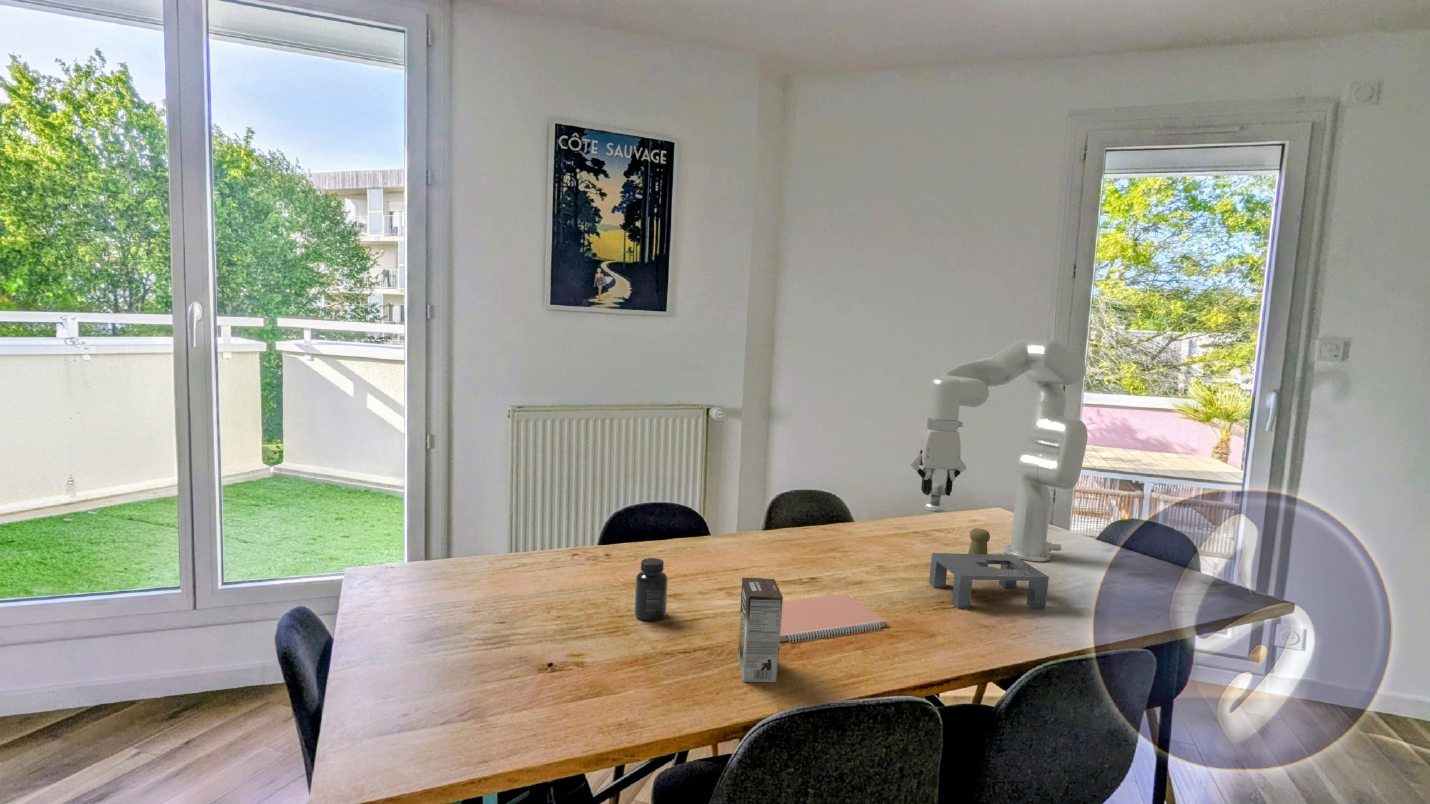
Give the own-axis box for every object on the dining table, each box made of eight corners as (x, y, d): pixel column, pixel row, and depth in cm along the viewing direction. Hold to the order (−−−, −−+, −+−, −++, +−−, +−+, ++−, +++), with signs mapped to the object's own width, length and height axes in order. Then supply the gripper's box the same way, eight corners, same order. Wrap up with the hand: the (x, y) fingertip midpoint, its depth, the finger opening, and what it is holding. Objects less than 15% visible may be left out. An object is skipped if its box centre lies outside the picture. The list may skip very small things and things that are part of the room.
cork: (984, 565, 197) (988, 527, 196) (990, 572, 191) (995, 533, 190) (962, 563, 198) (966, 525, 196) (968, 570, 192) (972, 531, 190)
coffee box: (736, 658, 134) (741, 576, 132) (769, 658, 134) (775, 577, 133) (742, 682, 125) (747, 595, 123) (777, 683, 125) (783, 596, 124)
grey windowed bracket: (1009, 584, 183) (1012, 554, 182) (1045, 609, 167) (1048, 576, 166) (929, 583, 180) (931, 553, 179) (957, 608, 164) (960, 575, 164)
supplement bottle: (671, 612, 153) (673, 559, 152) (658, 624, 147) (661, 569, 145) (642, 606, 155) (644, 554, 154) (628, 618, 149) (631, 563, 147)
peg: (939, 507, 187) (943, 465, 186) (947, 512, 182) (951, 469, 181) (921, 506, 186) (925, 464, 185) (929, 512, 182) (933, 468, 180)
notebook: (778, 647, 140) (779, 637, 140) (742, 613, 156) (742, 605, 156) (889, 630, 151) (890, 622, 151) (845, 601, 167) (846, 592, 166)
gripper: (967, 424, 186) (960, 491, 188) (905, 422, 185) (899, 489, 187) (980, 429, 179) (973, 498, 181) (916, 426, 177) (910, 497, 179)
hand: (936, 493), depth 184 cm, fingers closed on peg, 5 cm apart
